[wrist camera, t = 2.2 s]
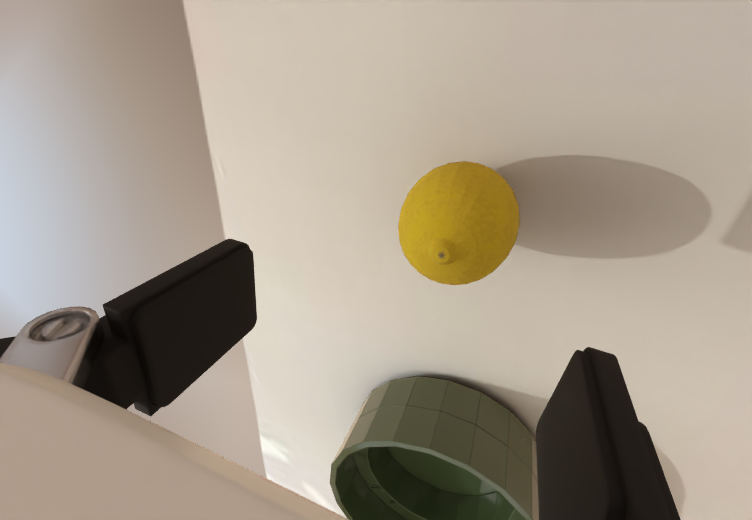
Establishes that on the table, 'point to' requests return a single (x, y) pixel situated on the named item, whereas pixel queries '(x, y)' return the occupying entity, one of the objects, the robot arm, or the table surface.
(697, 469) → the table surface
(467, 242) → the lemon
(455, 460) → the green round bowl
